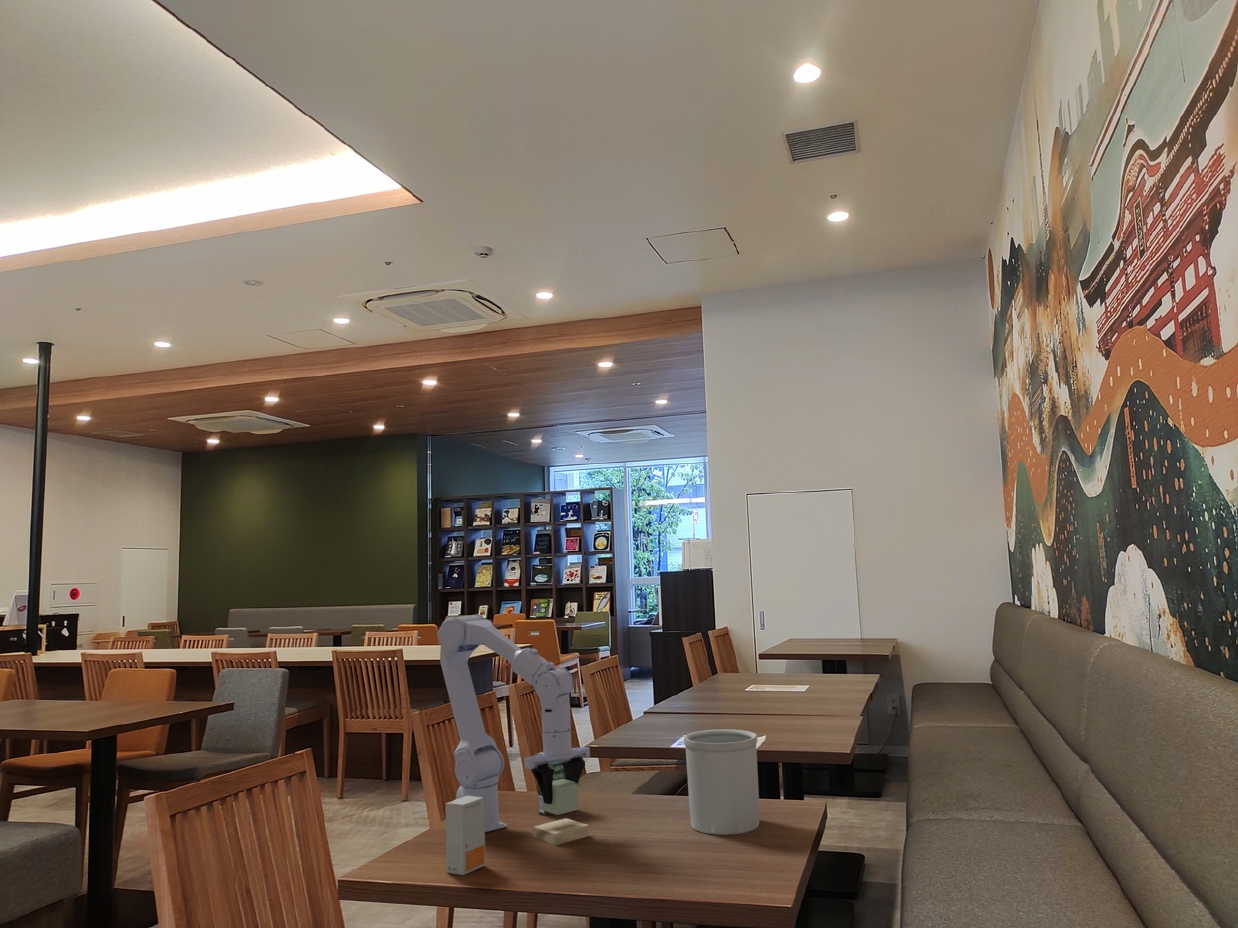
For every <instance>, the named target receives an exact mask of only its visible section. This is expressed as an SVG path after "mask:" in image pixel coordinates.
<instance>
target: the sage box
mask: <svg viewBox="0 0 1238 928" xmlns="http://www.w3.org/2000/svg"><path fill="white" fill-rule="evenodd" d="M578 794H579V793H578V786H577V783H575V782H573V781H569V780H566V779H559V780H555V781H553V782H552V795H553V798H552V804H546V803H544V801H543V810H544V811H547V812H550V813H553V814H552V815H557V816H558V815H563V814H566V813H570V812H576V811H578V810H579V797H578V796H579V795H578Z"/></svg>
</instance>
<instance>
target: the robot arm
mask: <svg viewBox="0 0 1238 928" xmlns="http://www.w3.org/2000/svg"><path fill="white" fill-rule="evenodd" d="M437 636H438V637H437V638H438V641H439V645H440V649H439V650H440V652H439V653H440V654H439V662H440V666H441V670H442V673H443V674H442V675H443V678H444V682H445V686H446V689H447V693H448V699H449V702H450V706H451V709H452V714H453V717H454V722H455V724H456V729H457V733H458V736H459V737H458V738H459V743H458V745H457V746H456V749H455V750H454V752H453V755H454V759H455V760H454V761H455V764H454V773H455V774H454V775H455V777H456V780H457V781H458V783H459V784H460V786H459V787H458V789H457V790H456V791H457V792H456V795H455V800H456V799H458V798H462V797H465V796H474V797H483V798H484V826H485V833H488V832H492V831H496V830H500V829H504V828H507V827H508V824H507V823H504V822H501V821H500V819H499V814H500V813H499V791H498V790H499V789H498V785H499V784H498V782H499V780H500V775H501V774H502V773H503V771H504V768H505V767H504V766H505V760H504V756H503V753H502V752H501V751H500V750H499V749H498V746H497V744H496V741H495V739H494V738H493V737H492V736H490V735H489V734H487V733H486V729H485V726H484V722H483V718H482V714H481V710H480V706H479V701H478V699H477V695H476V692H475V691H476V690H475V687H474V684H473V680H472V675H471V672H470V669H469V665H468V662H469V661H468V660H469V659H470V657H471V656H472V654H473V653H474V652H475V650H476V649H477V648H479V647H480V646H481V645H483V646H485V647H486V648H488V649H489V650H490V651H492V652H494V653H495V654H497V655H499V656H500V657H502V658H503V659H505V660H506V661H508V662H510V663H511V670H512V672H513V673H515V674H516V675H517V676H519V677H520V678H522V679H523V680H524V681H526V683H528V684H529V685H531V686H532V687H534V691H535V694H536V696H537V697H538V698H539V703H540V704H539V706H541V726H542V729H541V731H542V747H543V750H542V752H543V753H541V752H540V753H541V754H538V755H536V754H535V755H532V756H527V757H524V758H523V759H524V763H523V764H524V769H526V770H530V771H531V773H532V774H533V776H534V778H535V779H536V783H537V782H538V785H539V787H540V790H541V793H542V797H543V801H544V803H546V804H552V798H553V795H552V782H553V775H554V771H555V770H554V769H551V768H550V766H549V767H548V765H550V764H555V763H560V762H562V765H563V768H564V773H565V779H566V780H569V781H573V782H575V783H577V787H578V785H579V780H580V778H581V775H582V773H583V770H584V769H585V766H586V760H584V759H588V758H591V751H590V749H591V747H588V746H579V747H572V729H571V728H572V727H571V706H570V694H571V693H572V691H573V689H574V687H575V686H574V685H575V680H574V676H573V674H572V673H571V672H570V671H569V669H567V667H564V666H559V667H556V666H555V663H554V662H552V661H550V662H549V661H548V660H546V659H545V658H544V657H542V656H541V655H539V653H538V652H539V650H538V649H536V648H529V647H526V648H520V647H519V646H518V645H517V644H515V643H514V642H513V641H512V640H511V639H510V638H508V637H507V636H506V635H504V634H503V633H502V632H501V631H500V630H499V629H497V627H495V626H494V625H493V623H492V620H490V619H487V618H485V617H484V616H483V615H482V614H477V613H476V614H472V615H465V616H450V617H449V616H448V617H447V618H446V619H444V621H443V622H442V623H441V626H440V627H439V629H438V631H437ZM475 751H476V752H475ZM552 760H554V761H552Z"/></svg>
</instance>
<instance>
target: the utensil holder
mask: <svg viewBox="0 0 1238 928" xmlns="http://www.w3.org/2000/svg"><path fill="white" fill-rule="evenodd" d="M683 744H684V747H685V756H686V758H685V759H686V760H685V761H686V771H687V772H686V773H687V788H688V789H687V790H688V792H687V793H688V803H689V815H690V825H691V828H692V829H693V830H695V831H697V832H700V833H703V834H708V835H720V836H721V835H723V836H725V835H726V836H727V835H738V834H744V833H749V832H751V831H755V830H756V829H757V828H758V827H759V825H760V795H759V791H760V790H759V774H758V756H757V755H758V754H757V753H758V752H757V744H758V735H757V733H755V732H752V731H749V730H744V729H732V728H729V729H727V728H726V729H723V728H722V729H720V728H719V729H706V730H705V729H704V730H700V731H699V730H698V731H694V732H690V733H687V734H686V735H684V736H683Z"/></svg>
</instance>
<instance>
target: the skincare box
mask: <svg viewBox="0 0 1238 928" xmlns="http://www.w3.org/2000/svg"><path fill="white" fill-rule="evenodd" d="M445 839H446V840H445V851H446V852H445V855H446V856H445V857H446V863H445V864H446V865H445V866H446V873H448V874H454V875H460V876H465V875H467V874H469V873H471V872H474V871H476V870H478V869H480V868H483V867H486V832H485V826H484V798H483V797H474V796H465V797H462V798H458V799H456V798H455V799H453V800H452V801H448V802H445Z"/></svg>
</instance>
